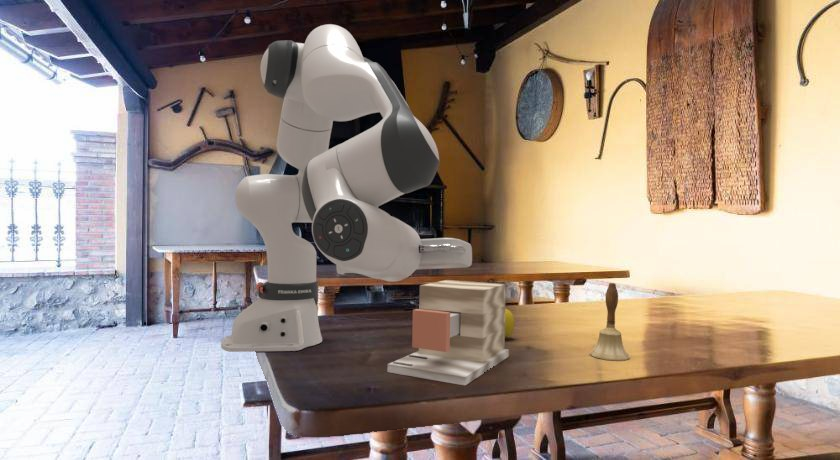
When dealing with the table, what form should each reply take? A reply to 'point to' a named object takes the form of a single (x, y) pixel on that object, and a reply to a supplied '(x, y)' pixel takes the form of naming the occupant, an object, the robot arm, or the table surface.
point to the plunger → (434, 329)
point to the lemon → (508, 322)
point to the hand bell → (610, 332)
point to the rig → (461, 332)
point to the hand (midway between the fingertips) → (421, 262)
